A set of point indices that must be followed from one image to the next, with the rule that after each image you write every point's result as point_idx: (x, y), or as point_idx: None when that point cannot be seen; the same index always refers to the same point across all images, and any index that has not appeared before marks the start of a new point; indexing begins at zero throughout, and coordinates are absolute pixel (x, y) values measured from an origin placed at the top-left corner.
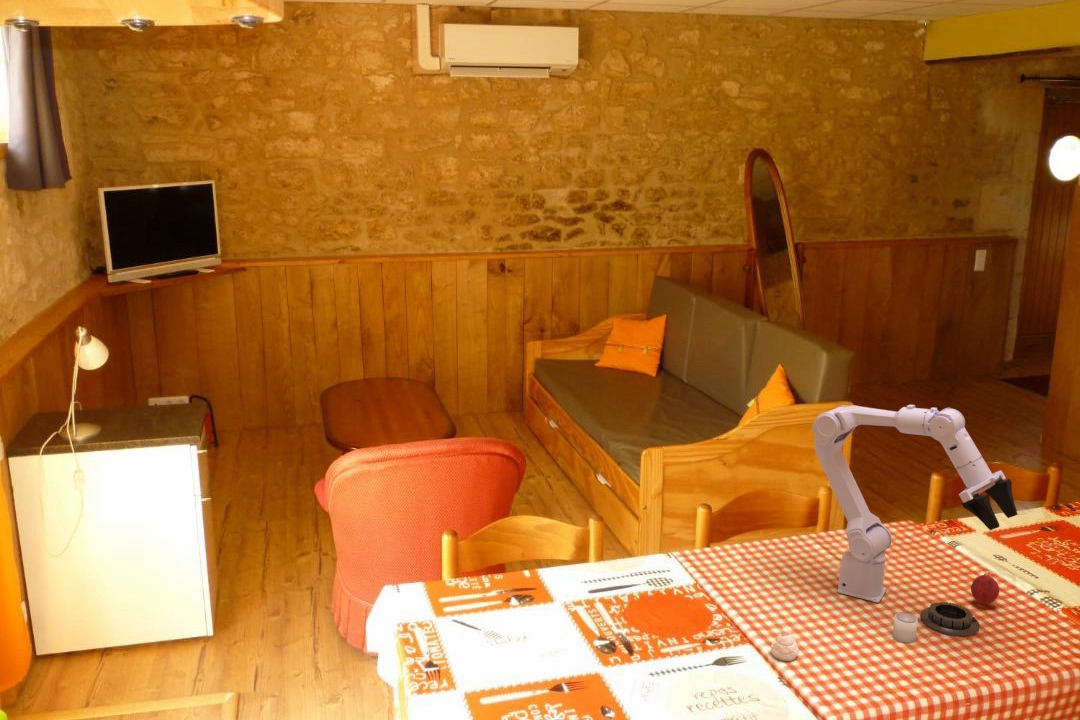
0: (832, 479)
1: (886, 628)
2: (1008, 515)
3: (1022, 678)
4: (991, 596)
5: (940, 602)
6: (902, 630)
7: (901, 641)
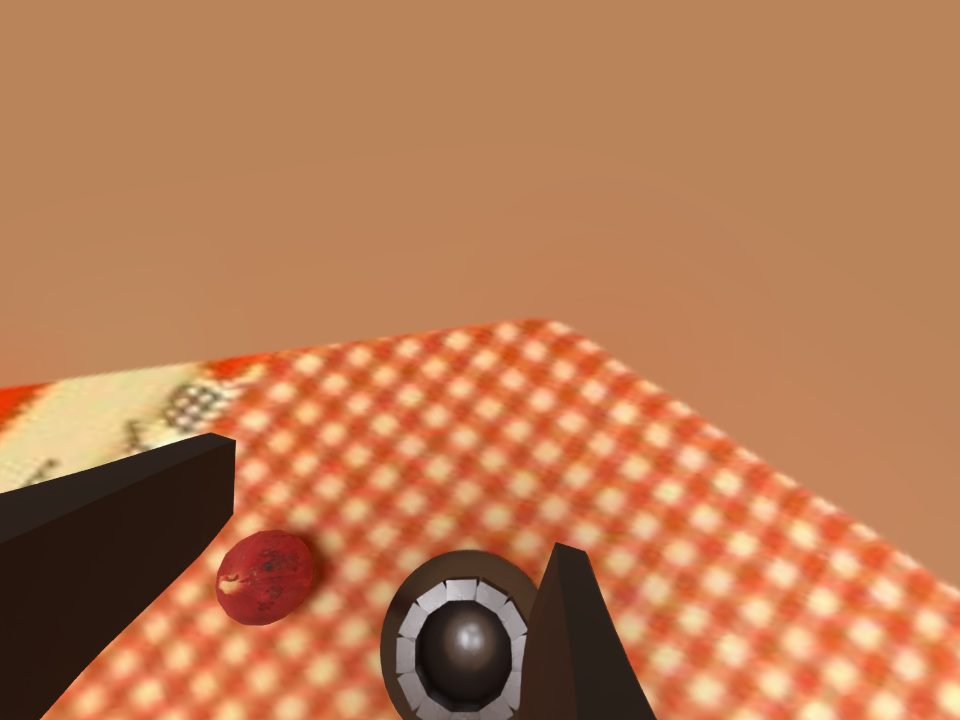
0: None
1: None
2: (219, 513)
3: (661, 402)
4: (304, 547)
5: (413, 704)
6: None
7: None
